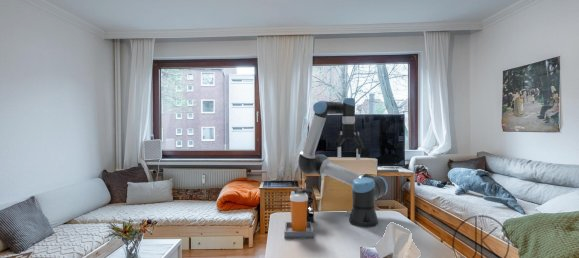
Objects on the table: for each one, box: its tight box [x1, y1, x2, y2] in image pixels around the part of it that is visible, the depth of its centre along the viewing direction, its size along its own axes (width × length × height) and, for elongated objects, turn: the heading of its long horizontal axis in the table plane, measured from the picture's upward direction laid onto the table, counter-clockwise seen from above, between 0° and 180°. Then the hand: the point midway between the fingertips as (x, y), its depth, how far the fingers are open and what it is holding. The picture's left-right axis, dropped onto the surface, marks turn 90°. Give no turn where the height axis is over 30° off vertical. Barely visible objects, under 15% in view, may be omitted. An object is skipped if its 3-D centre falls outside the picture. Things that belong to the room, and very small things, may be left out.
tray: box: [284, 221, 314, 239], centre depth 146 cm, size 14×14×3 cm
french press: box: [296, 178, 315, 224], centre depth 163 cm, size 12×9×23 cm
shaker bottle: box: [289, 189, 309, 231], centre depth 146 cm, size 9×9×20 cm
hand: (348, 158), depth 180 cm, fingers open, 13 cm apart
